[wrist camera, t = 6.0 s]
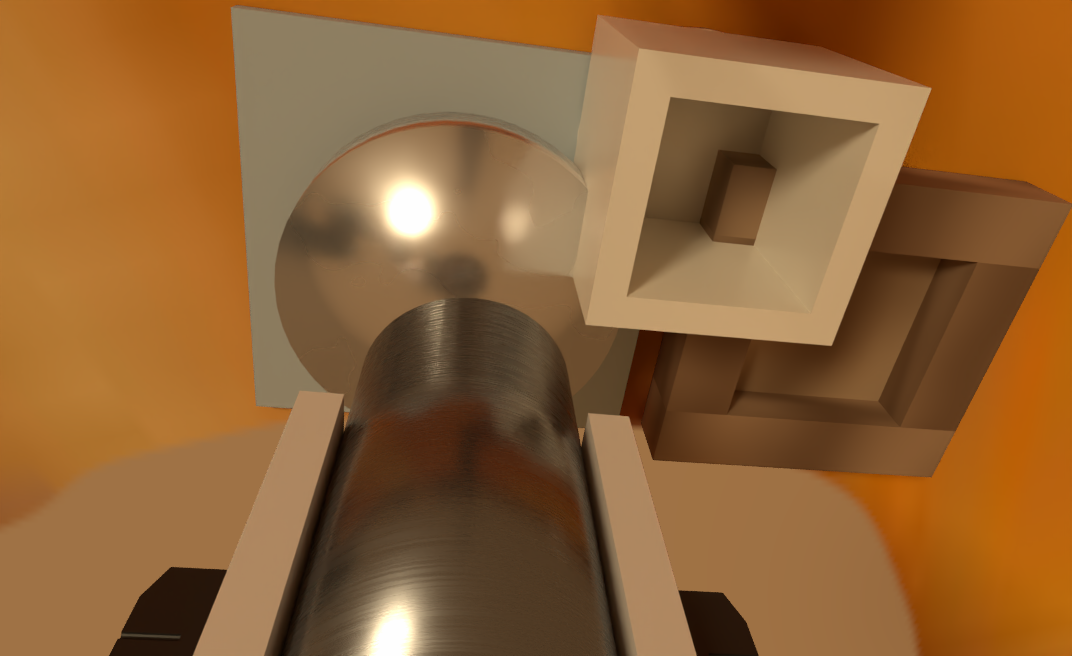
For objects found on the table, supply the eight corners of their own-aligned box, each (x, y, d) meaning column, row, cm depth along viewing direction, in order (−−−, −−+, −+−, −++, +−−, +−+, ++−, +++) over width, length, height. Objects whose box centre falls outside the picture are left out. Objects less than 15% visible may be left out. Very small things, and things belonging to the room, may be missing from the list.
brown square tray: (641, 423, 26) (653, 460, 24) (712, 143, 21) (733, 164, 19) (902, 441, 27) (931, 477, 25) (1026, 181, 22) (1072, 204, 20)
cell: (360, 464, 16) (244, 949, 9) (361, 288, 14) (209, 724, 6) (554, 475, 17) (609, 945, 9) (583, 307, 15) (688, 733, 7)
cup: (559, 227, 22) (585, 324, 17) (594, 11, 19) (638, 48, 14) (749, 246, 22) (831, 345, 17) (810, 42, 20) (931, 88, 14)
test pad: (292, 397, 22) (280, 428, 20) (282, 90, 17) (266, 104, 16) (586, 417, 23) (593, 448, 22) (645, 134, 19) (658, 150, 17)
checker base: (260, 397, 24) (256, 405, 24) (236, 5, 18) (231, 7, 18) (613, 421, 25) (615, 430, 25) (695, 66, 20) (700, 69, 19)
